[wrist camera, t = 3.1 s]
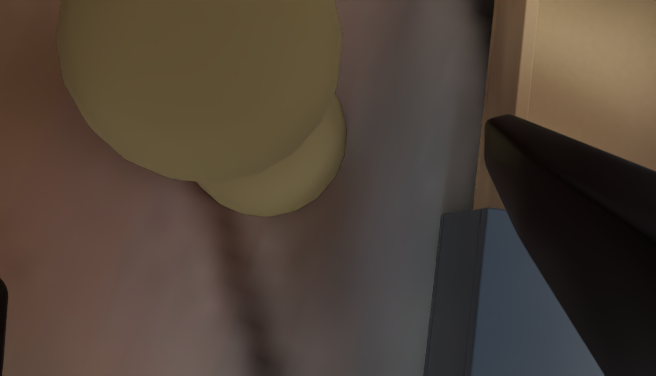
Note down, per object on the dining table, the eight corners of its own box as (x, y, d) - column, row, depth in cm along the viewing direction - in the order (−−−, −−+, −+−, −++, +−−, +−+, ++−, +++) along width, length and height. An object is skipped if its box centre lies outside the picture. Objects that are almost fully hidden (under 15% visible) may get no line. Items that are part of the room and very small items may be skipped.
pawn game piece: (277, 22, 20) (211, -243, 9) (380, 145, 19) (450, 33, 8) (150, 124, 19) (-87, -16, 8) (252, 251, 19) (148, 280, 8)
